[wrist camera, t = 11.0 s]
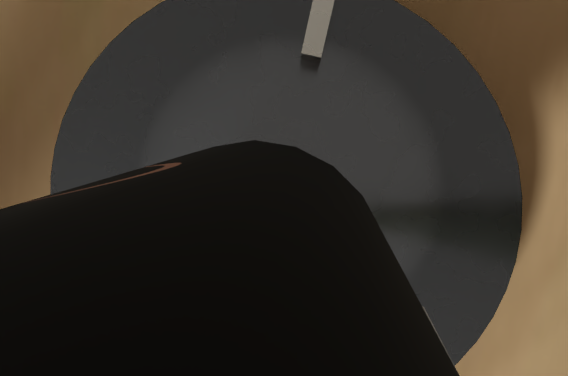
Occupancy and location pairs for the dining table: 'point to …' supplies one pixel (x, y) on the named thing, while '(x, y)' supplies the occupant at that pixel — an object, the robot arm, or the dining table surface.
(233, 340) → the coffee jar
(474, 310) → the disc
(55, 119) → the dining table surface
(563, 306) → the dining table surface
